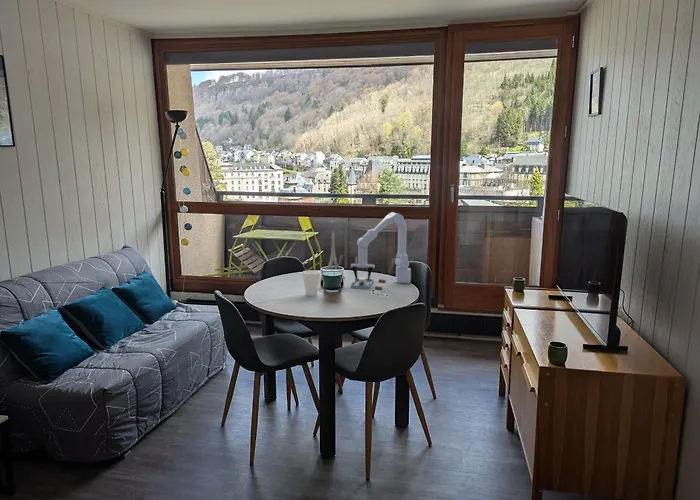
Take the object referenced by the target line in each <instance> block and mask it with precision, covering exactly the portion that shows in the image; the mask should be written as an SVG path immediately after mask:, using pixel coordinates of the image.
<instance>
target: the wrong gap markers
mask: <svg viewBox="0 0 700 500" xmlns="http://www.w3.org/2000/svg"><path fill="white" fill-rule="evenodd" d="M378 283H386V279H384V278H383V279H382V278H379V279H378ZM374 290H380V291H382V290H383V286H382V285H380V286H379V285H375V286H374Z"/></svg>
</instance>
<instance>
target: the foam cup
mask: <svg viewBox="0 0 700 500" xmlns="http://www.w3.org/2000/svg"><path fill="white" fill-rule="evenodd" d="M320 276H321V273H320V271H319V270H311V269H309V270H308V269H307V270H303V271H302V277H303V283H304V290H305V295H306V296H309V297H314V296H317V295H318V291H319V282H320Z"/></svg>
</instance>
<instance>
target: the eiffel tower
mask: <svg viewBox="0 0 700 500" xmlns="http://www.w3.org/2000/svg"><path fill="white" fill-rule="evenodd" d="M335 237H336V235H335V231H332V232H331V249H330V251H331V252H330V253H331V254H330V257H329V262H328V265H327V267H339V265H338V261H337V256H336V246H335V245H336V244H335V239H336V238H335ZM333 264H334V265H333ZM344 278H345V276H344V275H343V280H345V279H344Z"/></svg>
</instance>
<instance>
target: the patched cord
mask: <svg viewBox="0 0 700 500" xmlns="http://www.w3.org/2000/svg"><path fill="white" fill-rule="evenodd" d="M366 279H367V277H359V281H358V286H367V281H366Z"/></svg>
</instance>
